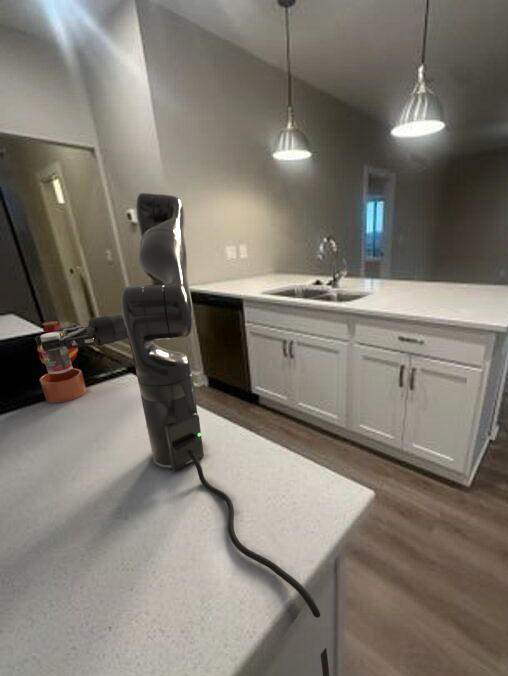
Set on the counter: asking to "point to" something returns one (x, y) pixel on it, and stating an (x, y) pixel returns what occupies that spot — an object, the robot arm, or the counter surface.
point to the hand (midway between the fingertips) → (39, 343)
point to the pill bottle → (55, 356)
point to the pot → (63, 385)
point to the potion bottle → (53, 326)
